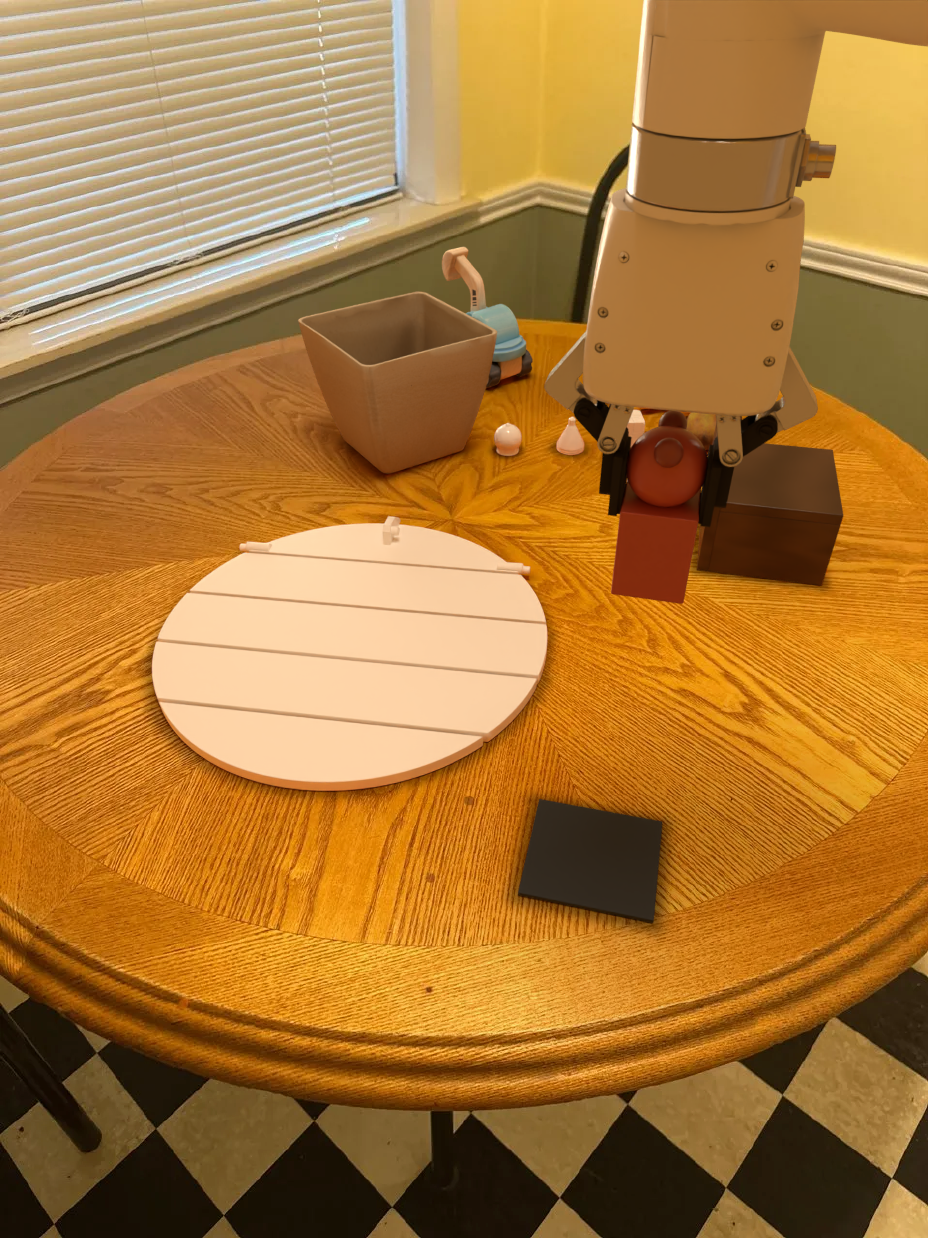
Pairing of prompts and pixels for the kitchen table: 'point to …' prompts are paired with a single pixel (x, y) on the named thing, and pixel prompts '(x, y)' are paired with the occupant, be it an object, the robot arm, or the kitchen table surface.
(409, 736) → the round plank board
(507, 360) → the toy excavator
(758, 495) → the wooden box with backboard
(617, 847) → the mat
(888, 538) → the kitchen table surface
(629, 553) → the ball-topped red block
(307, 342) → the flower pot
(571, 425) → the decorative object set
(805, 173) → the robot arm
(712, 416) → the fruit
